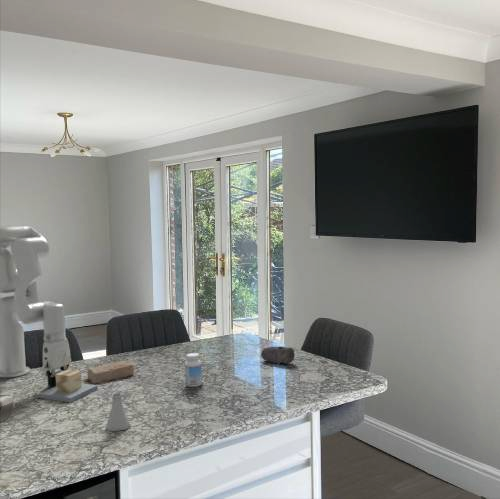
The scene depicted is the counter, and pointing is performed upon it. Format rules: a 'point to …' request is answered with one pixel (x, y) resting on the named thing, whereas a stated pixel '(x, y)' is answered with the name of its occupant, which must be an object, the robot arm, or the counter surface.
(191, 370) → the pill bottle
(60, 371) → the sage block
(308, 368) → the counter surface
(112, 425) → the flask
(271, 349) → the perforated stone tool
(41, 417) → the counter surface
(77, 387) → the beech block
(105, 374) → the brick
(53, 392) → the board
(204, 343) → the counter surface
